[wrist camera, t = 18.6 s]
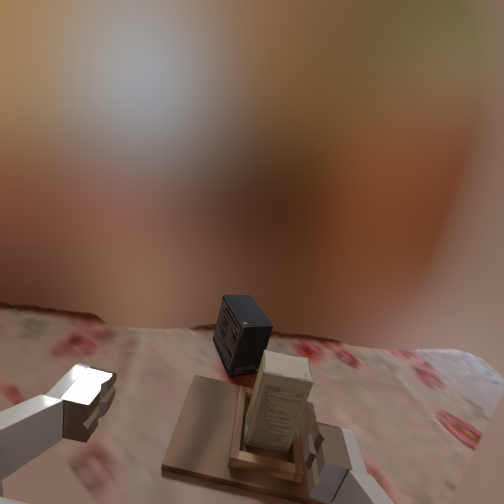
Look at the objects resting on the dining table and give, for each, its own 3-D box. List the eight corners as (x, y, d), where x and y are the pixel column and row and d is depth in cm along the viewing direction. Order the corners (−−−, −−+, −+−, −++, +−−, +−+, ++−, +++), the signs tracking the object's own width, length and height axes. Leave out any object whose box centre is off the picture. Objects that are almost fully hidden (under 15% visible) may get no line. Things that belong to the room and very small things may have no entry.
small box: (261, 373, 49) (276, 325, 46) (228, 378, 46) (241, 327, 43) (240, 336, 58) (251, 293, 55) (211, 338, 55) (221, 293, 52)
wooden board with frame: (161, 468, 31) (163, 455, 30) (194, 378, 44) (196, 367, 44) (328, 508, 31) (335, 496, 31) (311, 406, 45) (315, 396, 44)
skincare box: (286, 424, 39) (310, 357, 36) (288, 454, 35) (317, 383, 32) (243, 415, 39) (263, 347, 36) (240, 444, 35) (263, 371, 31)
